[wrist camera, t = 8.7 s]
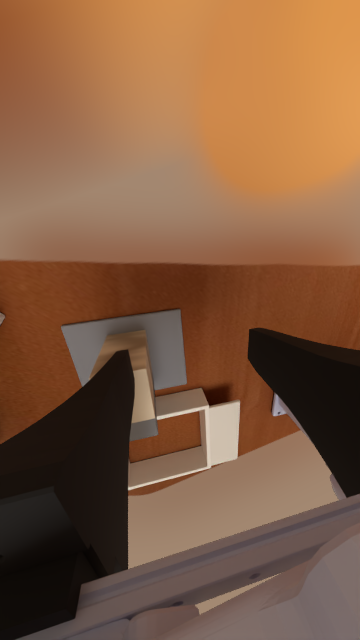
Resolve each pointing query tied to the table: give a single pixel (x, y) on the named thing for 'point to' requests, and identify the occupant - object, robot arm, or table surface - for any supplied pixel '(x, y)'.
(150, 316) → the mat
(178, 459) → the beige hollow rectangular frame
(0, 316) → the ink box
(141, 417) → the block
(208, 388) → the table surface
